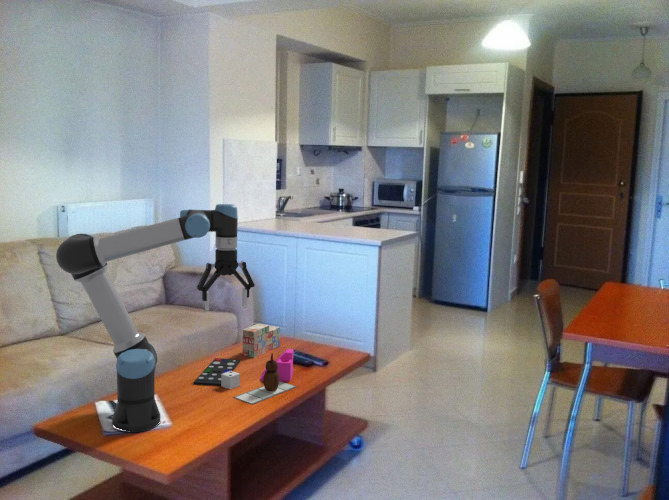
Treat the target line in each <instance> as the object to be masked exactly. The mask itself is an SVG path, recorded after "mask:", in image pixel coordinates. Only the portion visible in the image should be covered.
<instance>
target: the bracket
mask: <svg viewBox="0 0 669 500" xmlns="http://www.w3.org/2000/svg"><path fill="white" fill-rule="evenodd" d="M294 351H295V350H294V349H293V348H287V349H285V350H284V351H283V352H282V353H281V354H280V355H279V356H278V357H277V358H276V359H275V361H276V362H277V364H278V368H277V371H278V372H279V381H281V382H288V381H290V382H291V380H292V377H293V374H294V366H293V365H294ZM266 371H267V370H266V368H265V369H263V372H262V374H261V376H260V378H259V379H260V380H259V381H263V378H264V374H265V372H266Z"/></svg>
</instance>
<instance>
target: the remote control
mask: <svg viewBox="0 0 669 500" xmlns="http://www.w3.org/2000/svg"><path fill="white" fill-rule="evenodd" d="M240 363H241V359H235V358H233V359H232V358H221V357H220V358H218V357H215V358H214V359H213V360H212V361H211V362H209V364H208V366H206V368H205V369H204V370H203V371H202V372H201V373H200V375H198V376H197V378H196V379H195V380H194V381H193V385H198V386H199V385H200V386H214V387H215V386H217V387H222V386H221V374H223V373H226V372H229V371H233V372H235V371H234V370H235V369H236V368H237V367H238V366H239V364H240Z"/></svg>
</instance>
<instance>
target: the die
mask: <svg viewBox="0 0 669 500" xmlns="http://www.w3.org/2000/svg"><path fill="white" fill-rule="evenodd" d="M240 386H241V373H239V372H236V371H229V372H226V373H223V374H221V386H220V387H223V388H225V389H229V390H232V389H236V388H238V387H240Z"/></svg>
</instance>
